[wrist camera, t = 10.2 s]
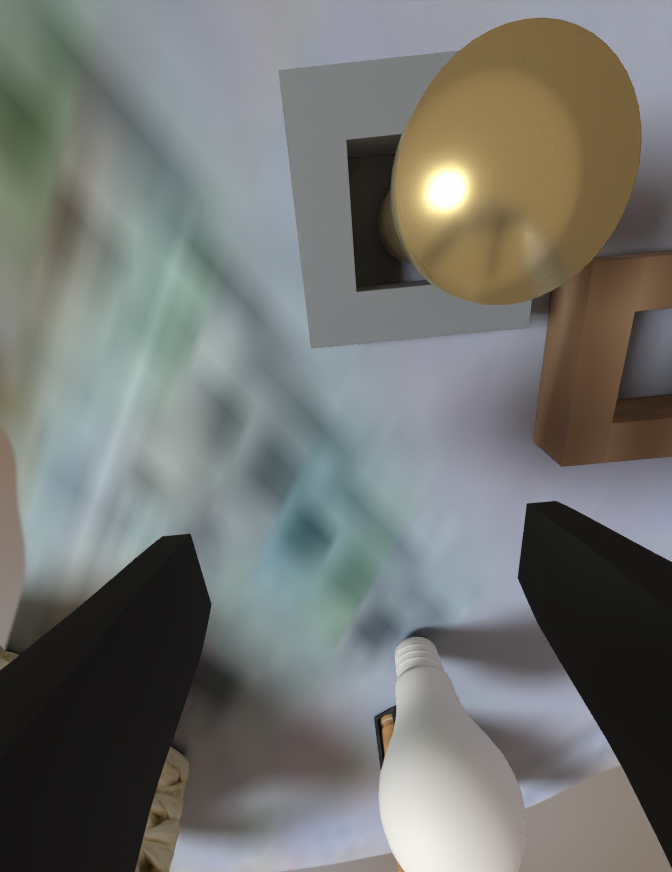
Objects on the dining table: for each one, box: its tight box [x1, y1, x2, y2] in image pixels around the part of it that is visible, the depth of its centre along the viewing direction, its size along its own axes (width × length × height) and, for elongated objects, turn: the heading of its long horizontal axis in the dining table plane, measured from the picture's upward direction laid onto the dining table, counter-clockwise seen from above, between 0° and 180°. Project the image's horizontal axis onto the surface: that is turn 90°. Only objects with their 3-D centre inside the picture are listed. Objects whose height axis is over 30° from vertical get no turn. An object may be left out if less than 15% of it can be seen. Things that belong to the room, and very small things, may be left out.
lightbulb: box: [379, 637, 527, 872], centre depth 20 cm, size 6×6×11 cm
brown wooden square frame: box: [533, 250, 672, 467], centre depth 16 cm, size 8×8×2 cm
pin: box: [378, 18, 641, 305], centre depth 11 cm, size 4×4×9 cm
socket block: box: [279, 51, 532, 349], centre depth 14 cm, size 8×8×2 cm
